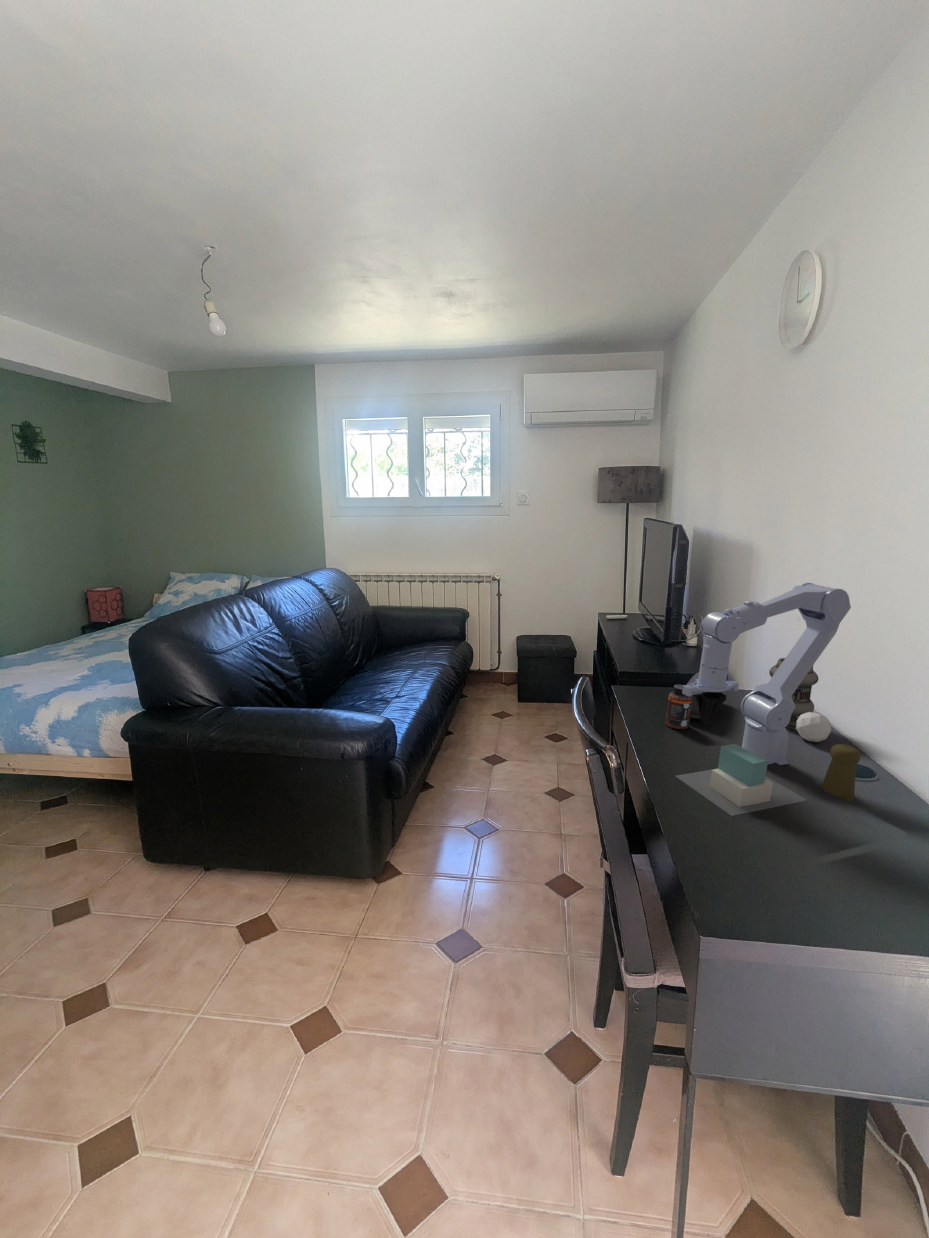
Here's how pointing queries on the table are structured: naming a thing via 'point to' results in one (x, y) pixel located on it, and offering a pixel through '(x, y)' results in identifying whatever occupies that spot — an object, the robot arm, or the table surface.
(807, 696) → the apothecary jar
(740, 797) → the base brick
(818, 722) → the geometric ball
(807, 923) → the table surface
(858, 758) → the cork
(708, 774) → the baseplate
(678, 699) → the supplement bottle
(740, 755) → the top brick
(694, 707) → the bluetooth speaker
